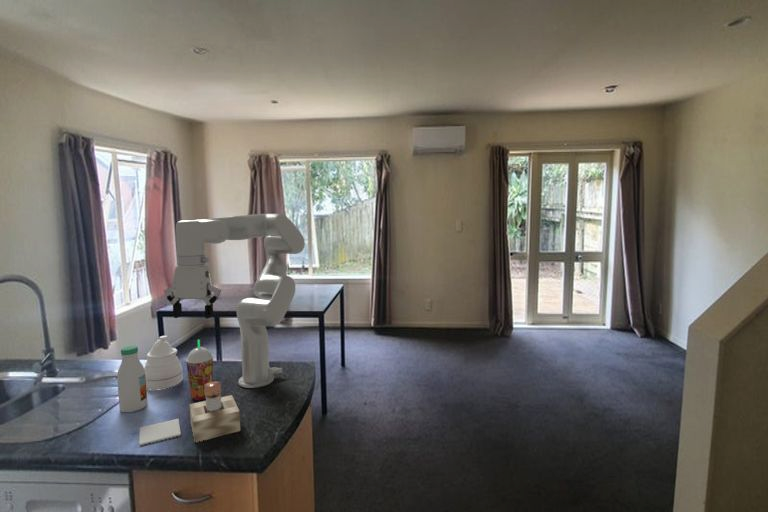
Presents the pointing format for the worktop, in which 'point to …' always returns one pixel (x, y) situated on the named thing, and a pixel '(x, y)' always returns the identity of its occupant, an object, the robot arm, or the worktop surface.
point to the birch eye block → (214, 419)
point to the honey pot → (162, 366)
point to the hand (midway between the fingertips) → (193, 317)
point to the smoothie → (199, 371)
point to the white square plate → (159, 431)
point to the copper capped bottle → (213, 396)
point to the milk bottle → (131, 381)
